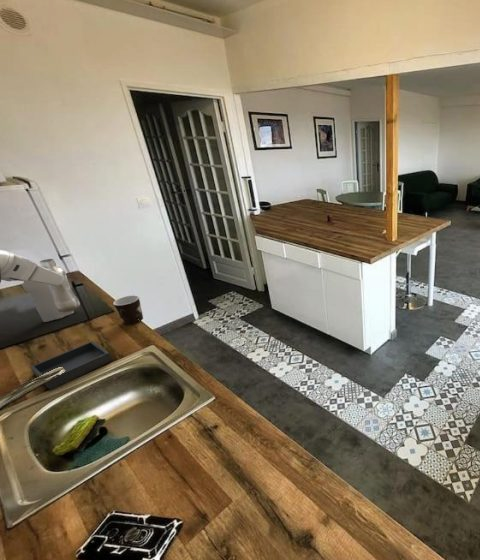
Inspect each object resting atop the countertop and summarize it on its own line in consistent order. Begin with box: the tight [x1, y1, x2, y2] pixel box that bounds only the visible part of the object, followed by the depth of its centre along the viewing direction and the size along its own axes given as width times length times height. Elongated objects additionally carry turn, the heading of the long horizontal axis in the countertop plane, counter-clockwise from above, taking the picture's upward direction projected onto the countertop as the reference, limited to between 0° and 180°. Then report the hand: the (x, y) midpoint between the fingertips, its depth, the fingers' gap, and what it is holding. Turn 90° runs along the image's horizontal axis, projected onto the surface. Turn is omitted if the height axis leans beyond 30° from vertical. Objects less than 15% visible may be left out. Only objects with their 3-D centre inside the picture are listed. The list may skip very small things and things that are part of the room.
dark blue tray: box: [29, 340, 113, 391], centre depth 107 cm, size 17×14×4 cm
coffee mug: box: [112, 294, 144, 325], centre depth 132 cm, size 12×9×10 cm
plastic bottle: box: [39, 258, 81, 312], centre depth 112 cm, size 6×7×20 cm
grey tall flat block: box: [21, 281, 75, 323], centre depth 132 cm, size 11×4×22 cm, turn 146°
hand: (59, 282), depth 112 cm, fingers closed on plastic bottle, 6 cm apart
